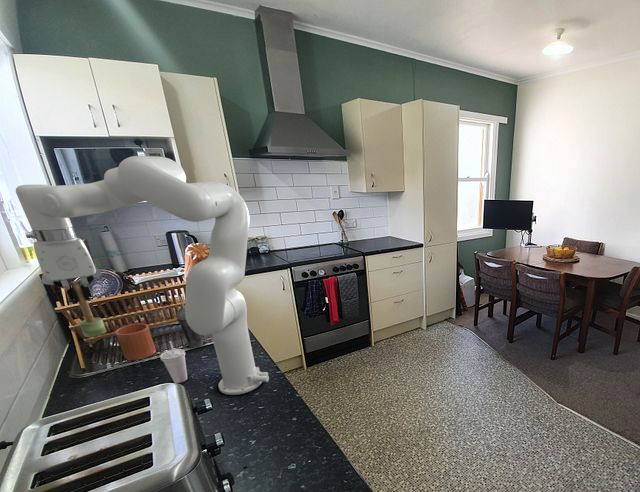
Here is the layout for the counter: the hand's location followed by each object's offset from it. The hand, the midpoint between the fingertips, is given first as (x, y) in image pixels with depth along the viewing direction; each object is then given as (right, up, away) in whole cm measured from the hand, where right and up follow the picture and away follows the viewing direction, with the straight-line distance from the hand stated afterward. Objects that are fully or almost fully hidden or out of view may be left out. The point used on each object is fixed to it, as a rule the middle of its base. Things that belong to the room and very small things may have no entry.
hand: (82, 300), depth 98 cm
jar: (-5, -18, +26) cm, 32 cm away
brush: (0, -10, +4) cm, 11 cm away
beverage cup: (+10, -15, +34) cm, 38 cm away
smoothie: (+19, -25, +13) cm, 34 cm away
